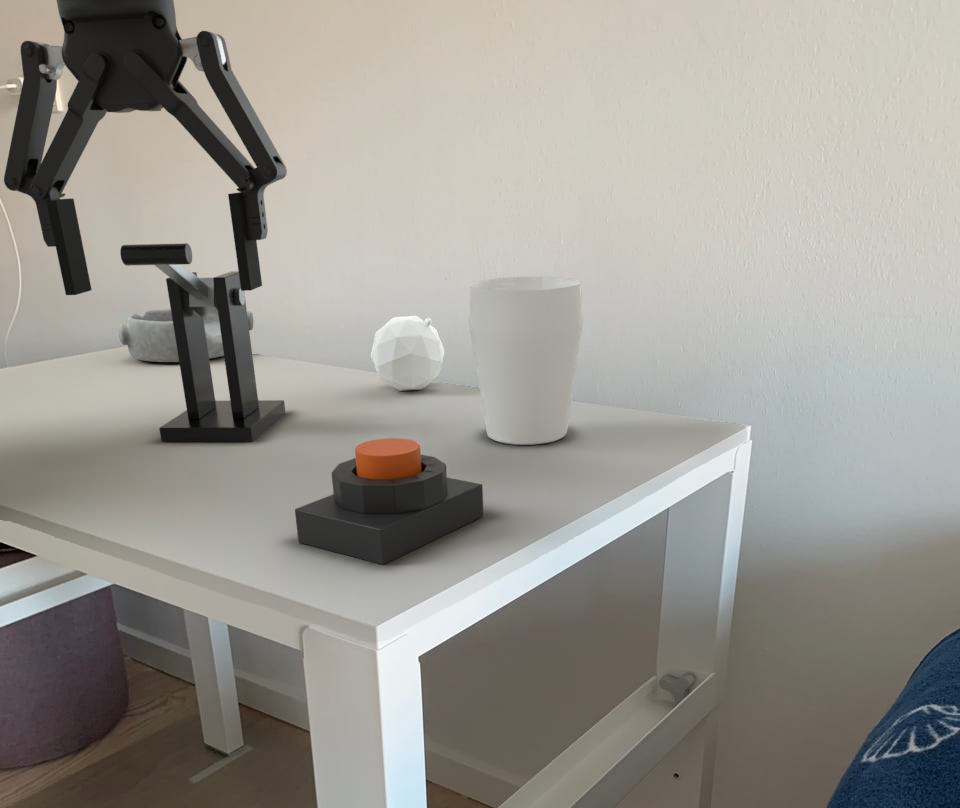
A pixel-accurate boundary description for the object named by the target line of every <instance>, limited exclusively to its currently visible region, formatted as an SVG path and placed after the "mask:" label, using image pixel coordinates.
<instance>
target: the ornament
mask: <svg viewBox="0 0 960 808" xmlns="http://www.w3.org/2000/svg"><path fill="white" fill-rule="evenodd" d="M432 324H433V320H432V319H431V317H426V318H425V319H424V320H423V319H422V318H421V317H419V316H417V315H409V316H393V317H392V318H391V319H390V320H388V321H387V322H386V323H385V324H384V325H383V326H382V327H380V328H379V329H378V330H377V331H376V332H375V335H374V339H373V343H372V348H371V352H370V358H371V360H372V363H373V366H374V368H375V370H376V373H377V376H378V378H379V379H380V380H382V381H383V382H384V383H386V384H388V385H389V386H391V387H392V388H394V389H395V390H396V391H398V392H404V391H419V390H424V388H425V387H427V386H428V385H429V384H430V383H432V381H434V379H436V378H437V377H438V376H439V375H440V374H441V373H440V372H441V369H442V366H443V365H442V364H443V361H444V357H445V351H446V350H445V348H444V346H443V343H442V341H441V338H440V334H439V332H438V330H437V328H435V327H434V326H432Z"/></svg>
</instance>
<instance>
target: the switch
mask: <svg viewBox="0 0 960 808" xmlns="http://www.w3.org/2000/svg"><path fill="white" fill-rule="evenodd" d="M120 259H121V262H122V264H123V265H124V266H126V267H128V266H155V268H157V269H159V270H160V271H161V272H162V273H163V274H165V275H166V276H167V277H168V278H171V279H172V280H174V281H175V282H176V283H177V284H178V285H180V286H181V287H182V288H183V289H185V290H186V291H187V292H188V293H189V307H190V308H191V309H193V310H194V311H195V312H196V313H198V314H199V315H200V316H202V317H207V316H218V309H217V301H216V294H215V287H214V280H213V278H214V277H198V275H197V276H195V275H194V274H193V273H192V272H193V271H191V270H190V269H188V268H187V267H186V266H185V265H191V264H192V262H193V250H192V247H191V245H190V244H189V243H188V242H187V243H149V244H148V243H146V244H145V243H144V244H123V245H121V246H120Z"/></svg>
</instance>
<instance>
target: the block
mask: <svg viewBox="0 0 960 808" xmlns="http://www.w3.org/2000/svg"><path fill="white" fill-rule="evenodd" d="M421 470H422V472H421V473H419V474H416V475H414V476H410V477H404V478H397V479H368V478H363V477H358V476H357V468H356V457H354V458H352V459H348V460H346V461H343V462H341V463H340V462H339V463H338V464H337V465H336V466H335V468H334V469H333V470H332V471H331V480H332V492H333V494H331V495H327V496H325V497H323V498H319V499H317V500H315V501H312V502H310V503H307V504H305V505H302V506H300V507H299V506H298V507H296V508H295V509H294V514H295V515H294V516H295V523H296V524H295V525H296V531H297V538H298V539H297V542H298V543H300V544H304V545H307V546H311V547H315V548H320V549H323V550H326V551H330V552H334V553H338V554H342V555H346V556H349V557H353V558H356V559H361V560H365V561H368V562H371V563H375V564H380V565H385V564H387V563H390V562H391V561H393V560H396V559H397V558H400V557H401V556H404V555H406V554H408V553H410V552H412V551H415V550H416V549H418V548H420V547H423V546H424V545H427V544H429V543H431V542H433V541H436V540H437V539H439V538H442V537H443V536H445V535H447V534H449V533H451V532H454V531H456V530H457V529H459V528H462V527H464V526H466V525H468V524H470V523H472V522H474V521H476V520H478V519H480V518H482V517H484V489H483V484H482V483H479V482H473V481H467V480H462V479H458V478H452V477H448V476H447V464H446V463H445V462H443V461H442V460H440V459H438V458H437V457H436V456H431V455H425V454H421Z"/></svg>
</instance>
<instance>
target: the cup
mask: <svg viewBox="0 0 960 808" xmlns="http://www.w3.org/2000/svg"><path fill="white" fill-rule="evenodd" d="M583 322H584V315H583V299H582V281H581V280H579V279H576V278H571V277H563V276H562V277H560V276H511V277H501V278H500V277H499V278H497V277H496V278H490V279H483V280H478V281H475V282H472V283H470V284H469V318H468V328H469V335H470V340H471V346H472V352H473V353H472V354H473V359H474V364H475V370H476V376H477V377H476V378H477V383H478V387H479V393H480V395H479V396H480V400H481V404H482V405H481V406H482V412H483V418H484V424H485V429H486V435H487V437H488V438H490V439H491V440H493V441H495V442H498V443H502V444H506V445H507V444H508V445H515V446H516V445H517V446H530V445H531V446H532V445H542V444H549V443H553V442H555V441H559V440H561V439H563V438H564V437H565V436H566V435H567V433H568V427H569V420H570V414H571V408H572V407H571V406H572V400H573V393H574V387H575V380H576V373H577V366H578V358H579V354H580V346H581V345H580V344H581V338H582V333H583V332H582V331H583Z"/></svg>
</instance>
